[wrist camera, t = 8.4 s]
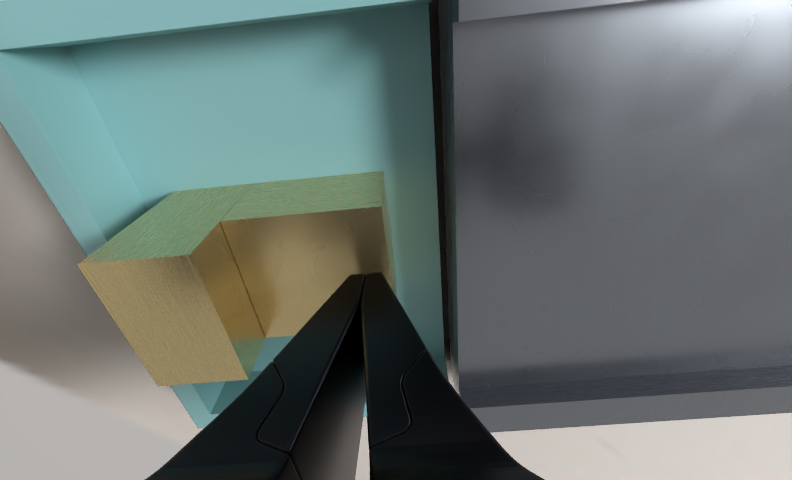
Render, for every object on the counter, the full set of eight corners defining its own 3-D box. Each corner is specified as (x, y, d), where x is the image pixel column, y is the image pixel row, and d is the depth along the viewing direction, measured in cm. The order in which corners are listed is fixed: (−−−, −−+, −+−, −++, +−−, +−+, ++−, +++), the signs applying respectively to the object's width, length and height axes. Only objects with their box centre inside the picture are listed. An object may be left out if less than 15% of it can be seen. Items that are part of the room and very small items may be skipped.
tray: (443, 358, 16) (451, 410, 14) (223, 375, 16) (197, 428, 14) (424, -35, 9) (435, -55, 7) (35, 13, 9) (-72, 9, 7)
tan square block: (396, 277, 13) (397, 327, 11) (286, 286, 13) (265, 338, 11) (383, 170, 11) (381, 206, 9) (253, 183, 11) (220, 220, 9)
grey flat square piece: (777, 337, 15) (864, 407, 13) (450, 361, 16) (462, 434, 13) (1062, -128, 8) (1426, -212, 5) (436, -50, 9) (458, -86, 6)
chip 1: (248, 379, 10) (158, 386, 10) (286, 286, 13) (219, 292, 13) (190, 254, 8) (76, 264, 8) (253, 183, 11) (174, 191, 11)
